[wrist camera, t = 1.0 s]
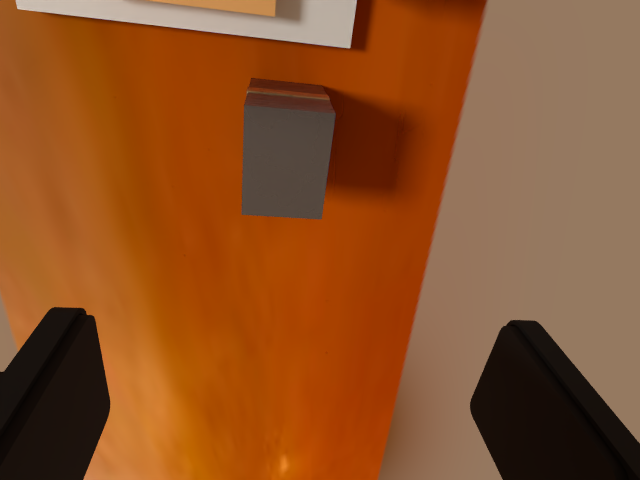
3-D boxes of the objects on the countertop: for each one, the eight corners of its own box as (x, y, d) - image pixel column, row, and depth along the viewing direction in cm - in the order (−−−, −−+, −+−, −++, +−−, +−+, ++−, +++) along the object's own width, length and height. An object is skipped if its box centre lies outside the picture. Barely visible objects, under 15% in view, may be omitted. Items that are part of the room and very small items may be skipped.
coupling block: (247, 168, 29) (240, 215, 23) (250, 76, 26) (243, 104, 20) (312, 173, 30) (322, 220, 24) (322, 84, 27) (336, 112, 21)
